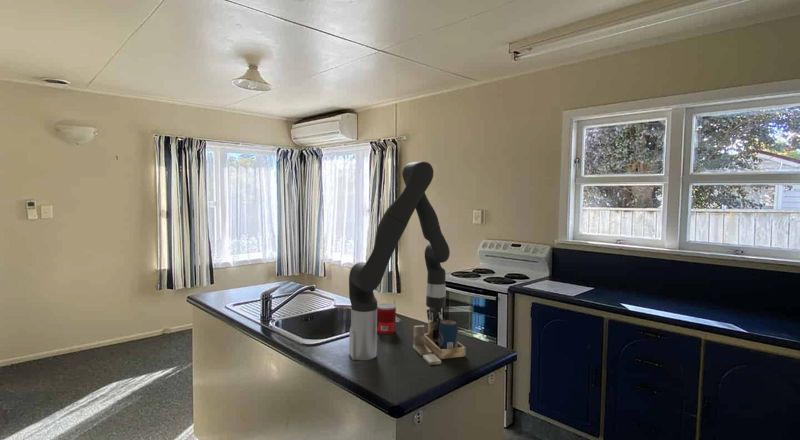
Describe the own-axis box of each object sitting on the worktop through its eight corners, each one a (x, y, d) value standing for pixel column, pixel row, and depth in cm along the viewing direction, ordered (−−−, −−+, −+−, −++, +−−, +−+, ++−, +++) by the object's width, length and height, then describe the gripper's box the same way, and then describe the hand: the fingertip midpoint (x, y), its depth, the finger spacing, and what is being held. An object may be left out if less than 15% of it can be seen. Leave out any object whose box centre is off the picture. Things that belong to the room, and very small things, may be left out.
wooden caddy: (439, 359, 147) (440, 335, 146) (422, 341, 163) (422, 320, 162) (465, 356, 150) (466, 333, 149) (445, 339, 166) (446, 318, 166)
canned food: (398, 332, 175) (399, 306, 174) (382, 335, 170) (383, 309, 169) (388, 327, 181) (389, 302, 180) (373, 330, 176) (373, 304, 176)
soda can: (436, 350, 155) (437, 319, 154) (455, 350, 156) (455, 318, 155) (440, 358, 148) (441, 325, 148) (459, 357, 149) (460, 324, 148)
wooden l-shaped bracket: (429, 365, 142) (430, 341, 142) (412, 347, 158) (413, 326, 158) (441, 363, 143) (441, 340, 143) (423, 346, 160) (423, 325, 159)
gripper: (420, 290, 168) (419, 332, 169) (433, 299, 155) (432, 344, 156) (437, 289, 170) (436, 331, 171) (452, 298, 157) (450, 343, 158)
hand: (434, 337), depth 164 cm, fingers closed on wooden caddy
